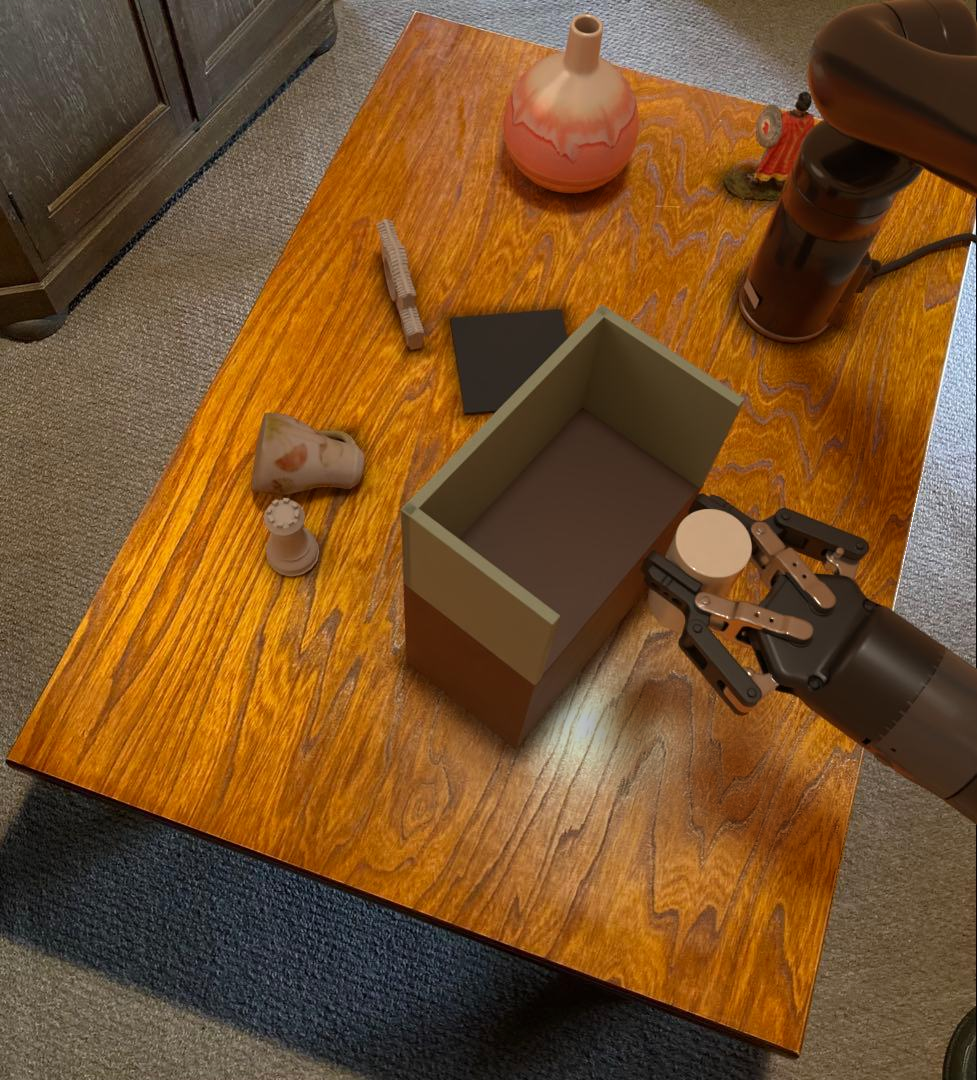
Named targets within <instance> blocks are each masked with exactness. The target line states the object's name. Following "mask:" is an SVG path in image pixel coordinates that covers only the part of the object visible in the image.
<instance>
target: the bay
mask: <svg viewBox="0 0 977 1080" xmlns="http://www.w3.org/2000/svg"><path fill="white" fill-rule="evenodd" d="M745 399H746V398H744V397H743V396H742V395H740V394H739V393H737V392H736V391H734V390H732V389H731V388H729V387H728V386H727V385H725V384H723V383H722V382H721V381H719V380H717V379H716V378H714V377H713V376H711V375H710V374H708V373H707V372H705V371H704V370H703V369H701V368H699V367H698V366H696V365H695V364H694V363H692V362H690V361H689V360H687V359H686V358H684V357H683V356H681V355H679V354H678V353H677V352H675V351H674V350H673V349H671V348H669V347H668V346H666V345H664V343H661V342H660V341H659V340H657V339H655V338H654V337H652V336H651V335H649V333H647V332H645V331H643V330H642V329H640V328H639V327H638V326H636V325H635V324H633V323H632V322H630V321H628V320H627V319H625V318H624V317H623V316H620V315H619V314H618V313H617V312H615V311H613V310H612V309H610V308H608V307H607V306H606V305H604V304H603V303H601V304H600V305H599V306H597V308H596V309H595V310H594V311H593V312H592V313H591V314H590V315H589V316H588V317H587V318H586V319H585V320H584V321H583V322H582V323H581V325H579V326H578V327H577V329H576V330H575V331H573V333H572V334H571V335H569V337H568V339H567V340H566V341H565V342H564V343H563V344H562V345H561V346H560V347H559V348H558V349H557V350H556V351H555V352H554V353H553V354H552V355H551V356H550V357H549V358H548V359H547V360H546V361H545V362H544V363H543V364H542V365H541V366H540V367H539V368H538V369H537V370H536V371H535V372H534V373H533V375H532V376H531V377H530V378H529V379H528V380H527V381H526V382H525V383H524V384H523V385H522V386H521V387H520V388H519V389H518V390H517V391H516V392H515V393H514V394H513V395H512V396H511V397H510V398H509V399H508V400H507V401H506V402H505V403H504V404H503V405H502V406H501V407H500V408H499V409H498V410H497V411H496V412H495V413H492V415H491V416H490V417H489V418H488V419H487V420H486V421H485V422H484V423H483V424H482V426H480V427H479V428H478V430H476V432H474V433H473V434H472V436H471V437H470V438H468V440H466V441H465V443H464V444H463V445H462V446H460V448H459V449H458V450H457V451H456V452H455V453H454V454H453V455H451V457H450V458H449V459H448V460H447V461H446V462H445V463H444V464H443V465H442V466H441V467H440V468H439V469H438V470H437V471H436V472H435V474H434V475H432V476H431V477H430V478H429V479H428V481H426V482H425V484H423V486H422V487H421V488H420V489H419V490H418V491H416V493H414V495H412V497H411V498H410V499H409V500H408V501H406V503H405V504H404V505H403V506H402V507H401V508H400V529H401V530H400V531H401V532H400V533H401V558H402V560H401V561H402V583H403V609H404V612H403V613H404V615H403V616H404V638H405V639H404V641H405V662H406V663H407V664H408V665H410V666H411V667H412V668H413V669H415V670H416V671H417V672H419V674H421V675H422V676H423V677H425V678H426V679H427V680H428V681H429V682H430V683H432V684H433V685H434V686H436V687H437V688H438V689H439V690H440V691H442V692H443V693H444V694H446V695H447V696H448V697H450V698H451V699H452V700H453V701H454V702H455V703H457V704H458V705H459V706H461V707H462V708H463V709H464V710H466V711H467V712H468V713H469V714H471V715H472V716H473V717H474V718H476V719H477V720H478V721H479V722H481V723H482V724H483V725H484V726H486V727H487V728H488V729H489V730H491V732H493V733H494V734H496V735H497V736H498V737H499V738H500V739H501V740H503V741H504V742H505V743H506V744H508V745H509V746H510V747H512V748H513V749H514V750H517V749H518V748H519V746H520V745H521V744H522V743H523V742H524V740H526V739H527V737H528V736H529V734H530V733H531V732H532V731H533V730H534V728H535V727H536V726H537V724H538V723H539V722H540V721H541V720H542V719H543V717H544V716H545V714H546V713H547V712H548V711H549V710H550V709H551V707H552V706H553V705H554V704H555V702H556V701H557V700H559V697H560V696H561V695H562V694H563V693H564V692H565V690H566V689H567V688H568V687H569V685H570V684H571V683H572V682H573V680H574V679H575V678H576V677H577V676H578V674H579V673H580V672H581V671H582V670H583V668H584V667H585V666H586V665H587V663H588V662H589V661H590V660H591V658H592V657H593V656H594V655H595V653H597V651H598V650H599V649H600V647H601V646H602V645H603V644H604V642H605V641H606V640H607V639H608V637H610V635H611V634H612V633H613V631H614V630H615V629H616V628H617V627H618V626H619V624H620V623H621V622H622V621H623V619H624V618H625V617H626V616H627V614H628V613H629V612H630V611H631V610H632V609H633V607H634V606H635V605H636V603H637V602H638V601H639V600H640V598H641V597H642V596H643V595H644V594H645V592H646V591H647V590H648V589H649V587H648V586H647V584H646V583H645V581H644V578H645V575H644V574H643V573H642V572H641V569H640V568H641V566H642V564H643V561H644V559H645V558H646V557H647V555H648V554H649V553H650V552H651V551H656V552H658V553H659V554H661V555H662V556H664V557H665V555H666V553H667V550H668V548H669V546H670V544H671V542H672V540H673V537H674V535H675V533H676V531H677V529H678V527H679V525H680V523H681V522H682V521H683V519H684V518H686V517H687V516H688V515H689V514H688V511H689V509H690V506H691V504H692V502H693V501H694V500H695V498H696V497H697V496H698V495H699V494H700V492H701V491H702V488H703V487H704V484H705V482H706V481H707V480H708V479H707V478H708V477H709V474H710V472H711V470H712V469H713V466H714V464H715V462H716V460H717V458H718V455H719V453H720V452H721V450H722V448H723V446H724V443H725V441H726V439H727V438H728V436H729V433H730V431H731V429H732V427H733V425H734V422H735V421H736V419H737V417H738V415H739V413H740V411H741V408H742V407H743V404H744V403H745Z"/></svg>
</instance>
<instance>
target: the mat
mask: <svg viewBox="0 0 977 1080" xmlns="http://www.w3.org/2000/svg"><path fill="white" fill-rule="evenodd" d="M449 323H450V329H451V335H452V336H451V337H452V342H453V348H454V349H453V350H454V355H455V361H456V362H455V363H456V368H457V373H458V374H457V375H458V382H459V387H460V394H461V400H462V401H461V402H462V406H463V413H464V416H474V415H482V414H494V413H495V412H496V411H497V410H498V409H499V408H500V407H501V406H502V405H503V404H504V403H505V402H506V401H507V400H508V399H509V398H510V397H511V396H512V395H513V394H514V393H515V392H516V391H517V390H518V389H519V388H520V387H521V386H522V385H523V384H524V383H525V382H526V381H527V380H528V379H529V378H530V377H531V376H532V375H533V373H534V372H535V371H536V370H537V369H538V368H539V367H540V366H541V365H542V364H543V363H544V362H545V361H546V360H547V359H548V358H549V357H550V356H551V355H552V354H553V353H554V352H555V351H556V350H557V349H558V348H559V347H560V346H561V345H562V344H563V343H564V342H565V341H566V340H567V339H568V338H569V337H568V334H567V328H566V323H565V318H564V314H563V309H562V308H555V309H541V310H529V311H517V312H516V311H515V312H504V313H490V314H478V315H466V316H456V317H455V316H451V317H450V318H449Z"/></svg>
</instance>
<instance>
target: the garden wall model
mask: <svg viewBox="0 0 977 1080" xmlns="http://www.w3.org/2000/svg"><path fill="white" fill-rule="evenodd" d="M375 225H376V229H377V233H378V236H379V238H380V242H381V259H382V262H383V269H384V275H385V280H386V285H387V290H388V292H389V295H390V298H391V300H392V302H395V304H396V307H397V312H398V314H399V317H400V320H401V328H402V331H403V334H404V338H405V341H406V345H407V347H408V348H409V350H410V351H411V350H417V349H422V348H423V345H424V334H425V329H424V327H423V324H422V321H421V318H420V314H419V311H418V308H417V305H415V298H416V297H417V292H416V289H415V287H414V284H413V281H412V277H411V273H410V269H409V265H408V264H409V263H410V262H409V258H408V254H407V253H406V252H407V250H405V247H406V246H404V245H403V242H401V240H400V238H399V236H398V234H397V230H396V227H395V224H394V220H389V219H388V218H384V219H383V220H382V221H380V222H378V223H375Z"/></svg>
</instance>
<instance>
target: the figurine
mask: <svg viewBox="0 0 977 1080" xmlns="http://www.w3.org/2000/svg"><path fill="white" fill-rule="evenodd" d="M812 102H813V99H812V96H811V93H810V92H808V91H801V92H799V94H798V96H797V100H796V103H795V104H794V105H793V106H794V108H795V109H791V110H787V111H785V112H784V113H782V110H781V109H780V107H779V106H777V105H776V104H768V105H766V106H765V107H764V108H763V109H762V110H761V112H760V113H759V115H758V118H757V120H756V124H755V125H756V126H755V138H756V139H755V141H756V142H757V143H758V145H759V146H760V147H762V148H764V149H765V150H764V151H763V153H762V155H761V159H760V163H759V164H758V167H757V168H756V170H754V169H739V170H735V171H732V172H731V171H730V172H726V174H725V176H724V182H723V183H724V185H725V187H726V189H727V191H728V192H730V194H731V195H732V196H733V197H735V196H736V197H737V198H739V199H741V200H745V199H748V200H751V199H754V200H756V201H758V200H760V201H763V200H766V201H768V202H769V201H771V202H773V201H778V198H779V196H780V193H781V191H782V188H783V186H784V183H785V181H786V178H787V176H788V174H789V171H790V169H791V166H792V164H793V161H794V159H795V157H796V154H797V152H798V149H799V147H800V145H801V143H802V141H803V139H804V137H805V136H806V134H807V133H808V132H809V131H810V130H811V129H812V128H813V127H814V126H815V117H814V114H813V113H809V112H808V110H809V109H810V107H811V106H812Z"/></svg>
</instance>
